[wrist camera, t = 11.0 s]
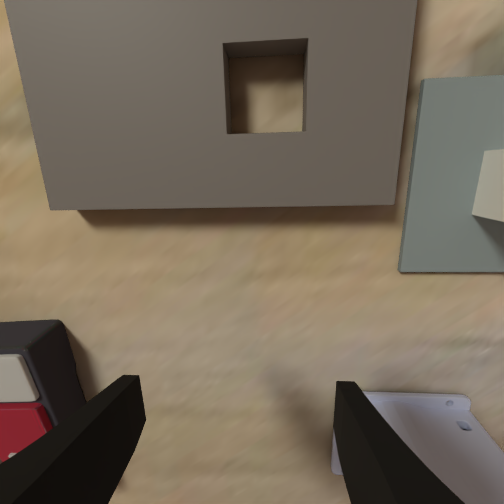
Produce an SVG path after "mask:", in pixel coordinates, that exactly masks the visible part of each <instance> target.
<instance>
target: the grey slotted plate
mask: <svg viewBox="0 0 504 504" xmlns="http://www.w3.org/2000/svg"><path fill="white" fill-rule="evenodd" d="M4 3H5V7H6V12H7V16H8V21H9V25H10V30H11V34H12V39H13V43H14V48H15V53H16V57H17V62H18V66H19V71H20V75H21V80H22V84H23V89H24V93H25V98H26V102H27V107H28V112H29V116H30V121H31V125H32V130H33V134H34V139H35V143H36V148H37V152H38V157H39V162H40V166H41V171H42V175H43V180H44V184H45V189H46V193H47V198H48V202H49V207H50V210H103V209H166V208H228V207H291V206H354V205H394V203H395V194H396V185H397V176H398V168H399V159H400V150H401V141H402V132H403V123H404V114H405V106H406V97H407V88H408V79H409V70H410V61H411V52H412V43H413V35H414V26H415V17H416V8H417V0H4ZM294 54H304V81H303V126H302V132H278V133H249V134H232V131H231V106H230V82H229V58H239V57H258V56H276V55H294Z"/></svg>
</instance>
